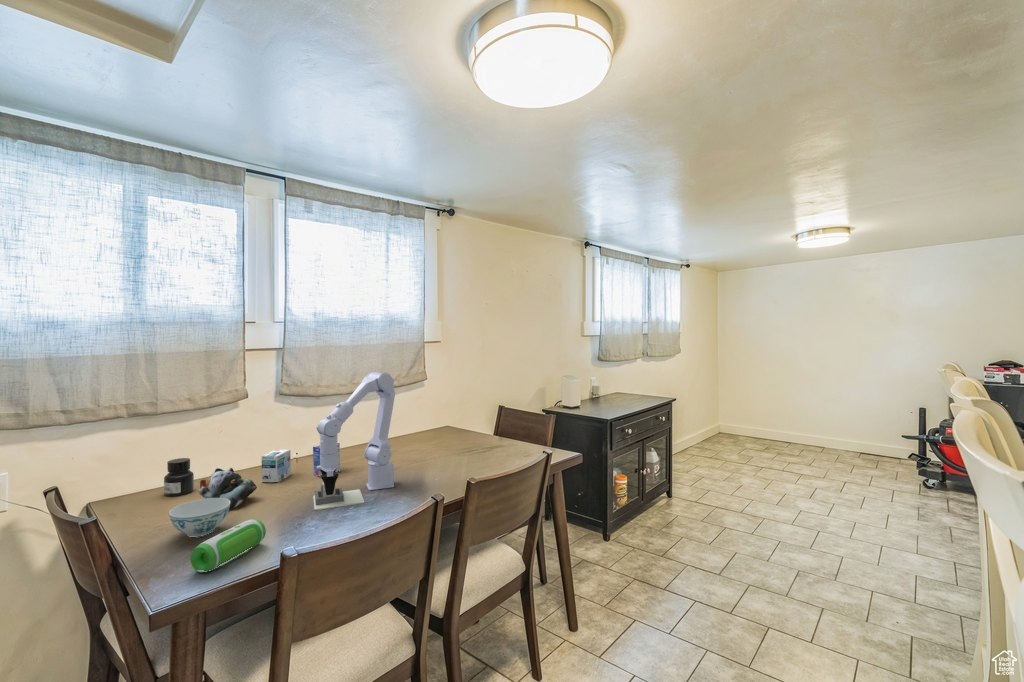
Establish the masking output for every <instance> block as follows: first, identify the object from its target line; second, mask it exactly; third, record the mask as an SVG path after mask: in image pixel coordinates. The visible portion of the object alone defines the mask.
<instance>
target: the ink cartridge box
mask: <svg viewBox="0 0 1024 682" xmlns="http://www.w3.org/2000/svg"><path fill="white" fill-rule="evenodd" d="M337 448H338V467H337V469H336V471H335V472H336V473H338V471H339V472H341V444H340V443H339V442H337ZM312 456H313V457H312V458H313V461H312V463H313V476H315V477H318V476H319V477H318V478H321V475H322V473H321V471H320V469H317V466H320V444H319V445H315V446H313V447H312Z"/></svg>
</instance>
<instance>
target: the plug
mask: <svg viewBox="0 0 1024 682" xmlns="http://www.w3.org/2000/svg"><path fill="white" fill-rule="evenodd" d="M335 489H336V486H335V487H334V492H333V495H326V491H325V485H324V482H323V481H322V483H320V491H321V498H324V497H331V496H335Z"/></svg>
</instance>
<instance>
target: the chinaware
mask: <svg viewBox="0 0 1024 682" xmlns="http://www.w3.org/2000/svg"><path fill="white" fill-rule="evenodd" d="M229 507H230V500H228V499H225V498H207V499H205V498H200V499H196V500H192V501H188V502H187V501H186V502H184V503H181V504H179V505H176V506H174V507H172V509H170V510H169V512H168V517H169V520H170V522H171V524H172V525H173V527H175V529H176V530H178V531H180V532H181V533H183V534H186V537H188V536H201V535H205V534H208V533H210V532H212V531H213V530H214V531H215V528H217V527H219V525H220V524H221V523H222V522H223V521H224V520H225V519H226V516H227V515H228V513H229V511H230V510H229ZM214 531H213V532H214ZM213 532H212V533H213ZM208 535H209V534H208Z"/></svg>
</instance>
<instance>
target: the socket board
mask: <svg viewBox="0 0 1024 682" xmlns="http://www.w3.org/2000/svg"><path fill="white" fill-rule="evenodd" d="M312 498H313V510H314V511H315V512H316V511H321V510H329V509H335V508H339V507H340V508H342V507H348V506H354V505H355V506H356V505H362V504H365V499H364V497H363V494H362V491H361V489H353V490H344V491H343V487H337V488H336V487H335V496H331V497H324V498H321V490H315V491H314V495H313V496H312Z"/></svg>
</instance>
